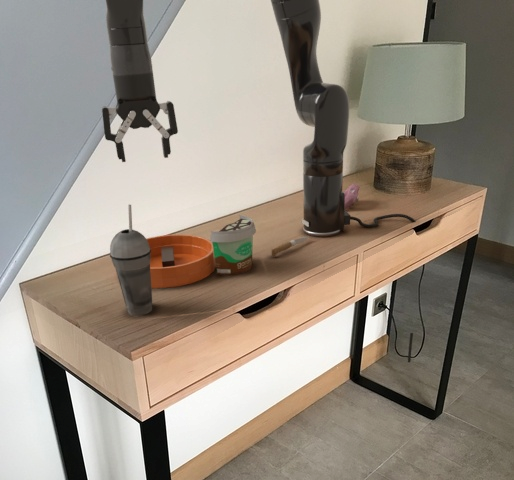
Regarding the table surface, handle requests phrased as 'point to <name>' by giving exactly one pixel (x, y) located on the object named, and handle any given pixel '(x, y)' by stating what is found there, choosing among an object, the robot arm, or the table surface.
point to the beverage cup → (133, 268)
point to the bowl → (181, 260)
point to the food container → (234, 247)
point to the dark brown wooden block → (167, 256)
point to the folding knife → (288, 245)
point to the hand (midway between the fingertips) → (145, 159)
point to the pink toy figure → (351, 195)
